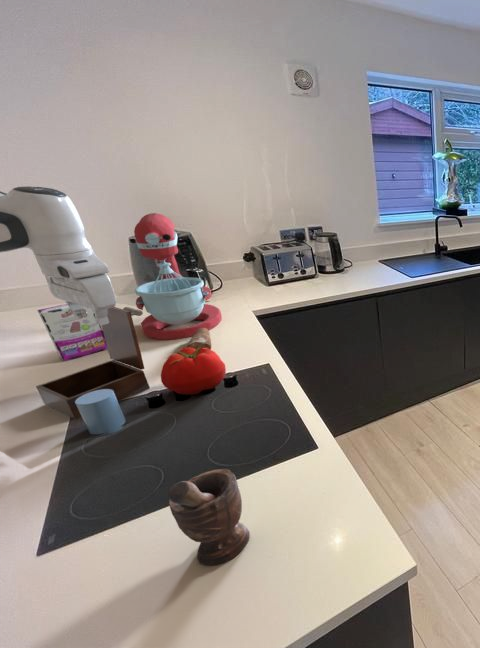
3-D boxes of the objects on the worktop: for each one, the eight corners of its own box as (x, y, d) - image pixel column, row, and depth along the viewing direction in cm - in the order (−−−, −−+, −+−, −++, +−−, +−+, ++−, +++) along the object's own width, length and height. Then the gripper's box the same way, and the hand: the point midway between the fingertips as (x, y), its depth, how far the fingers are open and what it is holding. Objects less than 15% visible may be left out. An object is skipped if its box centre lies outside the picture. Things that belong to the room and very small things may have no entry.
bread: (188, 360, 126) (183, 344, 124) (195, 338, 141) (190, 323, 139) (212, 356, 129) (208, 340, 127) (216, 334, 144) (212, 320, 142)
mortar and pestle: (264, 560, 66) (235, 467, 58) (200, 597, 60) (159, 498, 53) (246, 517, 73) (219, 429, 66) (188, 545, 68) (150, 453, 60)
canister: (99, 439, 91) (84, 407, 88) (84, 432, 94) (68, 400, 90) (132, 424, 97) (119, 392, 93) (117, 417, 99) (104, 386, 96)
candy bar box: (106, 344, 135) (87, 299, 128) (110, 348, 132) (92, 302, 126) (58, 357, 126) (36, 309, 120) (62, 361, 123) (40, 312, 117)
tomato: (234, 388, 112) (224, 351, 108) (170, 408, 103) (156, 369, 98) (224, 371, 121) (214, 336, 116) (164, 387, 112) (150, 350, 107)
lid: (126, 312, 102) (150, 307, 107) (95, 303, 107) (119, 298, 112) (141, 369, 107) (163, 362, 112) (110, 358, 112) (132, 352, 117)
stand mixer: (139, 347, 133) (94, 227, 118) (146, 317, 157) (109, 213, 141) (224, 331, 147) (194, 221, 131) (219, 305, 170) (193, 209, 154)
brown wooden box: (76, 422, 97) (66, 400, 95) (46, 407, 102) (35, 386, 100) (150, 390, 110) (143, 370, 108) (120, 378, 115) (112, 359, 113)
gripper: (26, 260, 90) (51, 317, 95) (73, 272, 82) (98, 333, 88) (64, 254, 95) (86, 308, 100) (111, 266, 88) (132, 323, 93)
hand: (92, 320), depth 94 cm, fingers open, 8 cm apart
